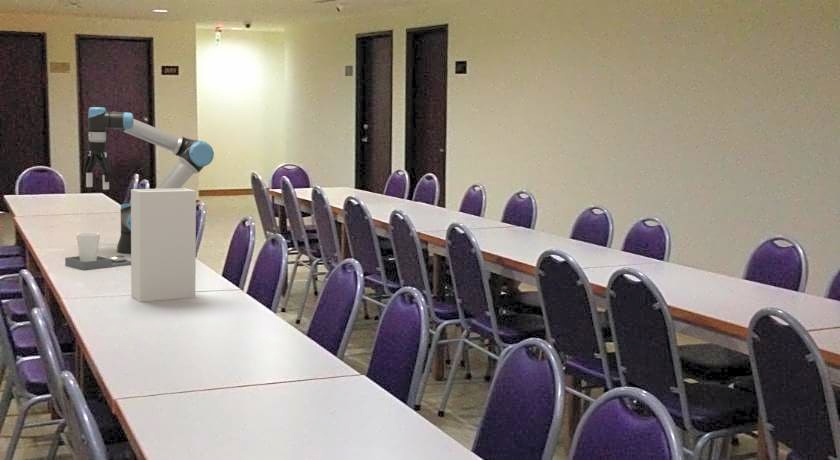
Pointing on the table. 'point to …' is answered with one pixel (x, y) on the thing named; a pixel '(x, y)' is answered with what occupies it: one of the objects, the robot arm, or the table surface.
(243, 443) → the table surface
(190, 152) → the robot arm
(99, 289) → the table surface
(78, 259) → the dark gray tray
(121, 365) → the table surface
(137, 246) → the storage box
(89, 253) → the foam cup
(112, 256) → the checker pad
